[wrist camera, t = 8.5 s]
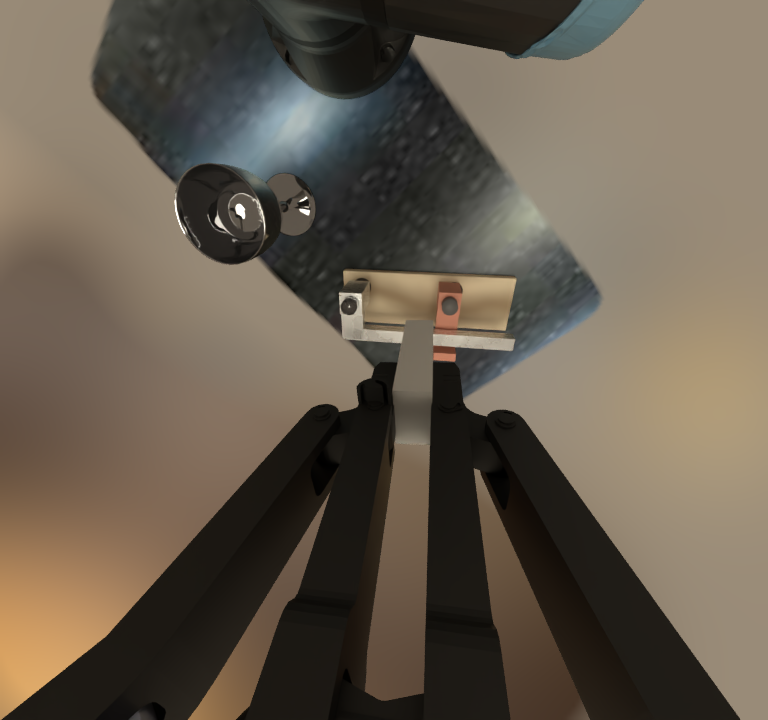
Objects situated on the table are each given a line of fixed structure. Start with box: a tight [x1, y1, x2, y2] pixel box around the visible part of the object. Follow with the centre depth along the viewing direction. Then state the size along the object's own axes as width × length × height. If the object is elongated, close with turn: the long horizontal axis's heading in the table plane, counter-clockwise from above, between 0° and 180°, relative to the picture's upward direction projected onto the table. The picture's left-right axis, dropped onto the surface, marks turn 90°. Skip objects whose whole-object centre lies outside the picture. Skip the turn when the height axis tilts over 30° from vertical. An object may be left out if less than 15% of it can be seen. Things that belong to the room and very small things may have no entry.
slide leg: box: [433, 282, 462, 362], centre depth 40 cm, size 8×3×6 cm, turn 179°
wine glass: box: [175, 163, 316, 265], centre depth 34 cm, size 8×8×15 cm
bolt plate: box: [343, 269, 516, 330], centre depth 43 cm, size 7×22×1 cm, turn 89°
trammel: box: [339, 280, 515, 351], centre depth 39 cm, size 6×20×8 cm, turn 89°
